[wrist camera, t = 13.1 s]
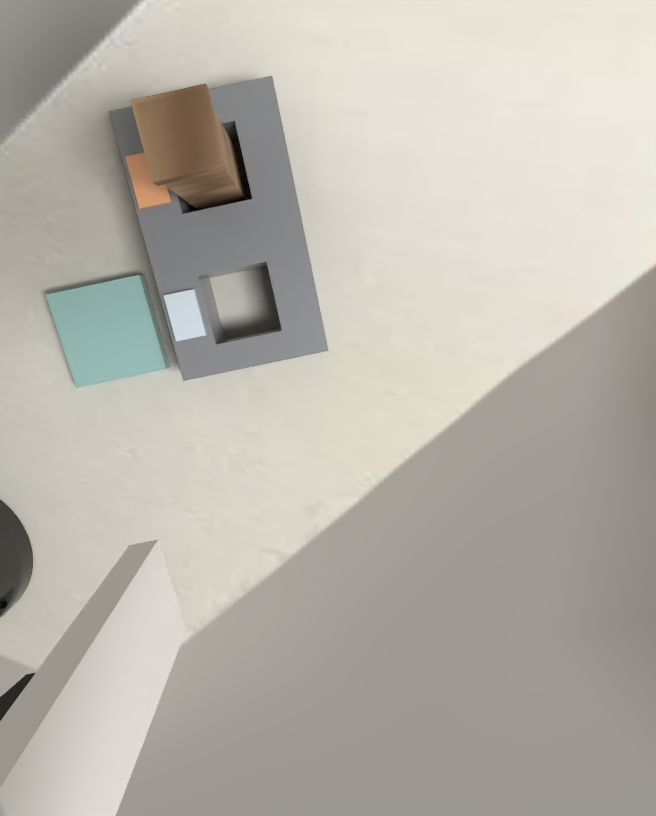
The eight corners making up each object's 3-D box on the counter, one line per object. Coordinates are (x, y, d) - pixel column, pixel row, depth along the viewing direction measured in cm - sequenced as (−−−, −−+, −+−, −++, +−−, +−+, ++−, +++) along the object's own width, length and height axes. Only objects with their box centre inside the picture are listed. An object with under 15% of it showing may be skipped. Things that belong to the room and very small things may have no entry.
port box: (195, 373, 43) (182, 381, 39) (129, 130, 39) (106, 109, 34) (326, 345, 43) (328, 351, 39) (276, 97, 39) (271, 73, 34)
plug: (198, 214, 40) (152, 181, 29) (184, 158, 39) (130, 100, 28) (250, 203, 40) (225, 166, 29) (237, 146, 39) (205, 83, 28)
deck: (82, 385, 43) (76, 387, 42) (52, 294, 41) (45, 294, 40) (170, 366, 43) (166, 368, 42) (144, 275, 41) (139, 274, 40)
